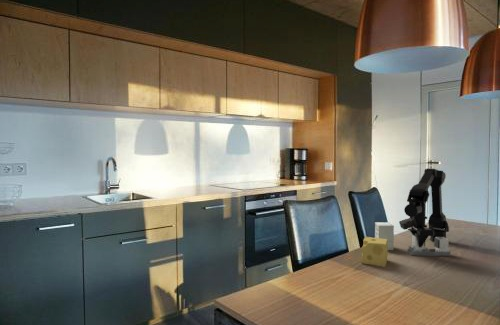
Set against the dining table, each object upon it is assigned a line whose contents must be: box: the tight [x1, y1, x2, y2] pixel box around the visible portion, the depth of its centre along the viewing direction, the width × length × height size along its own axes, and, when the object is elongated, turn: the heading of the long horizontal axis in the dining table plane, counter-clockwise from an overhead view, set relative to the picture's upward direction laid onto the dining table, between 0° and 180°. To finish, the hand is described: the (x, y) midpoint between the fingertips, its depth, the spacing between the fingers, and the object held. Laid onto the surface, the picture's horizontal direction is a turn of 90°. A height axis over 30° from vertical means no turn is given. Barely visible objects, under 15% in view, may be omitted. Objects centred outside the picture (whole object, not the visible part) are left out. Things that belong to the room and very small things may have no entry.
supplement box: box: [374, 221, 395, 251], centre depth 168 cm, size 7×7×13 cm
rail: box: [407, 237, 451, 257], centre depth 158 cm, size 18×4×8 cm, turn 87°
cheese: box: [360, 236, 389, 268], centre depth 147 cm, size 10×11×10 cm
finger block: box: [411, 234, 426, 249], centre depth 158 cm, size 5×4×6 cm
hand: (418, 245), depth 158 cm, fingers closed on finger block, 4 cm apart
